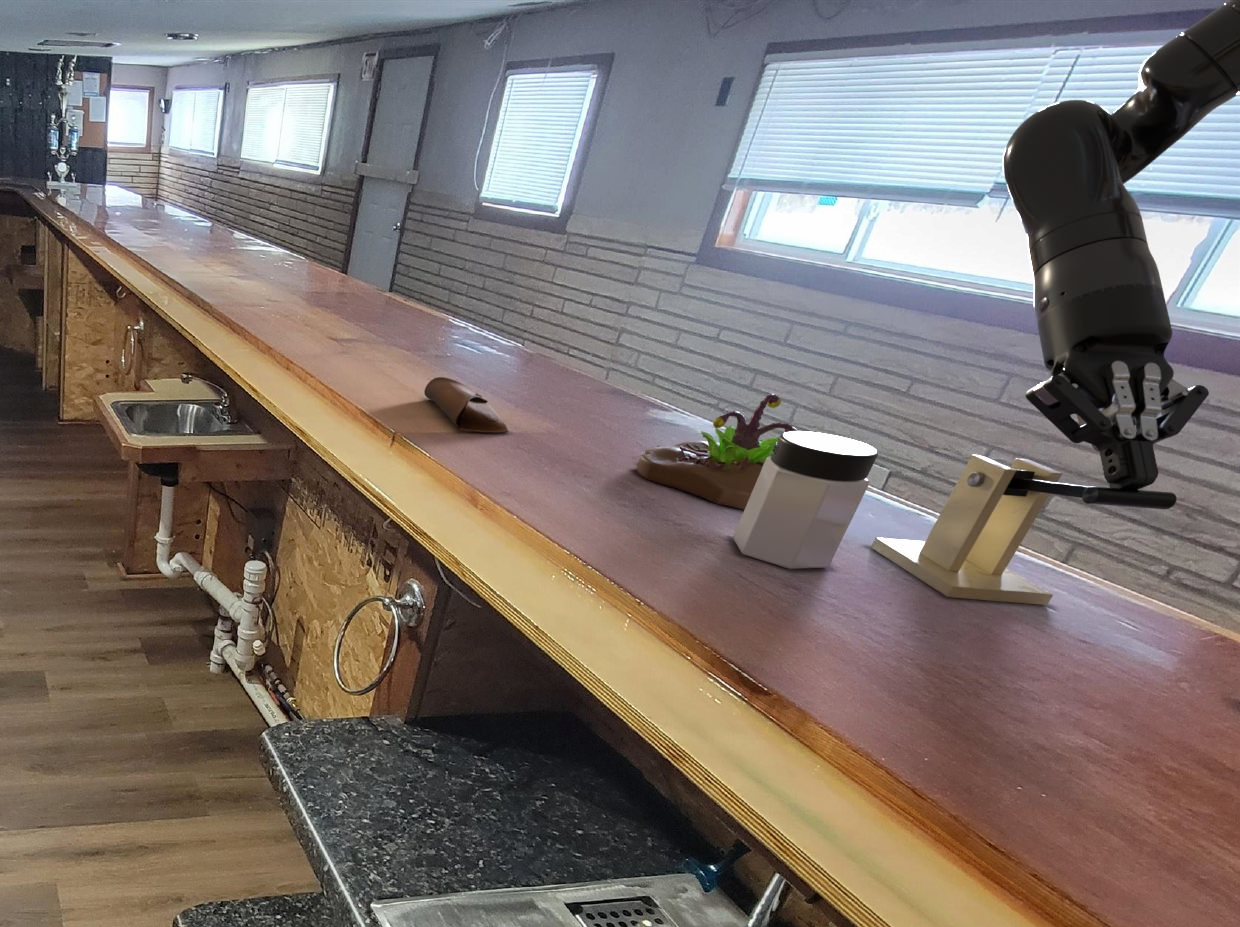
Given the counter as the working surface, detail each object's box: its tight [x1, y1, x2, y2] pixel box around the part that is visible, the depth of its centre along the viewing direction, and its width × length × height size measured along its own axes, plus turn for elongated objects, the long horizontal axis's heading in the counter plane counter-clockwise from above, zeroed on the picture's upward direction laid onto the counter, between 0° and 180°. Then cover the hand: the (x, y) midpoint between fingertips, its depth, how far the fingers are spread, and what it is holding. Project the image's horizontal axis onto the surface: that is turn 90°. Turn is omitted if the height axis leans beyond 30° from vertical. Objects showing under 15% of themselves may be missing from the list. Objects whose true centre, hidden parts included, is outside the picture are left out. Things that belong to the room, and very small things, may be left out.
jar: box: [732, 430, 879, 570], centre depth 91 cm, size 9×8×12 cm
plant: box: [636, 393, 798, 511], centre depth 111 cm, size 20×20×11 cm
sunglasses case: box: [423, 376, 509, 434], centre depth 136 cm, size 18×7×7 cm
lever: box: [1003, 469, 1177, 510], centre depth 81 cm, size 14×6×2 cm, turn 173°
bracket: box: [870, 454, 1063, 606], centre depth 88 cm, size 12×9×12 cm
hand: (1133, 486), depth 75 cm, fingers closed
